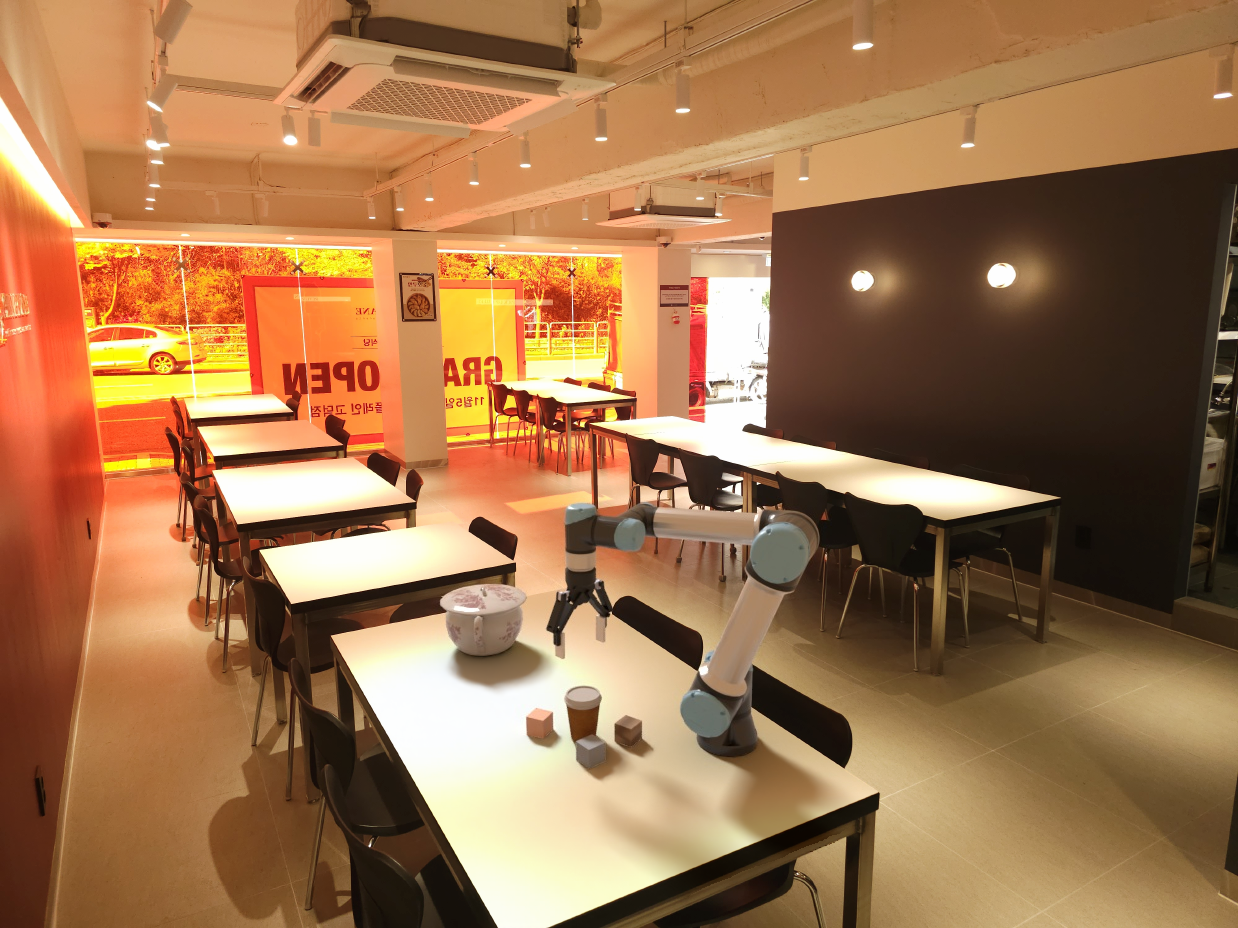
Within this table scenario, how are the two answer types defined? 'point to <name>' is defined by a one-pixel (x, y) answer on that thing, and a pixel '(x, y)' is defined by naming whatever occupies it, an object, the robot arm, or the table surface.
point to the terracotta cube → (539, 723)
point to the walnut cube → (628, 731)
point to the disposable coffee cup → (583, 710)
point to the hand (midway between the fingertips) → (580, 648)
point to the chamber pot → (484, 617)
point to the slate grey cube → (590, 751)
